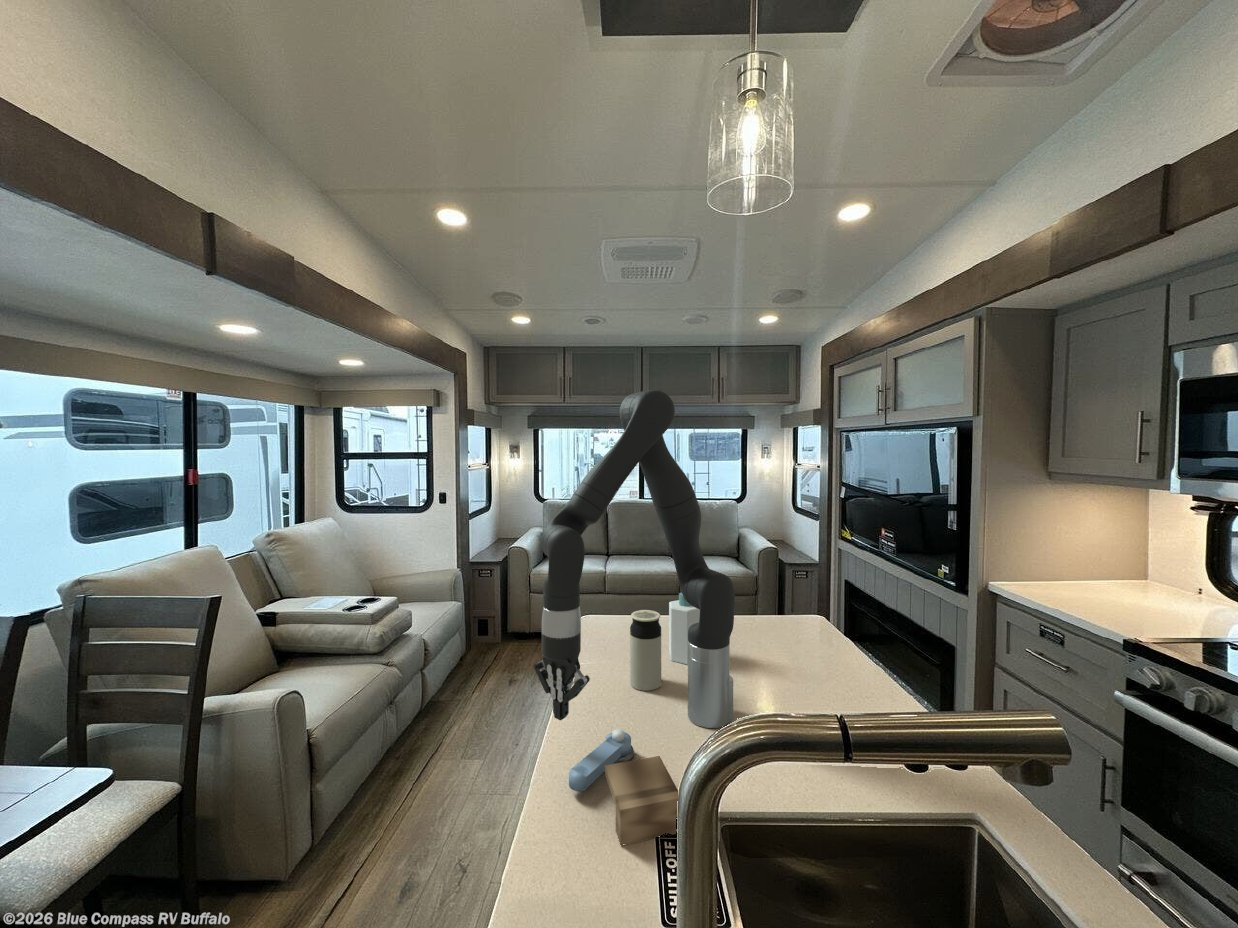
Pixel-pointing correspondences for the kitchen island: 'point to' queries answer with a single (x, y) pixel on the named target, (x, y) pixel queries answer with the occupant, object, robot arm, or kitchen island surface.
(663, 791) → the brown square block
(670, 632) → the soap bottle
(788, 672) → the kitchen island surface
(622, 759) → the pivot boss
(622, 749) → the swing link
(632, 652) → the travel mug
